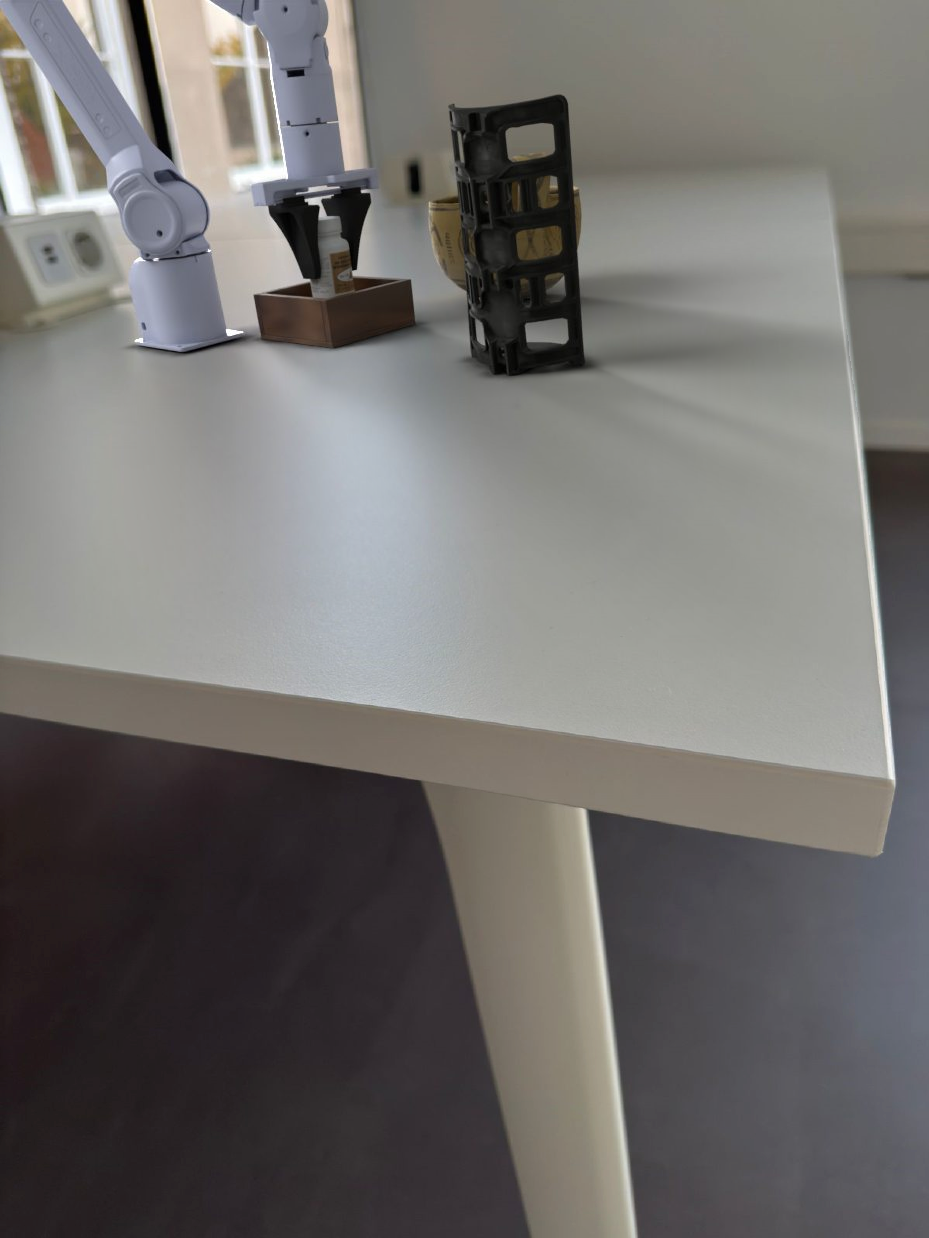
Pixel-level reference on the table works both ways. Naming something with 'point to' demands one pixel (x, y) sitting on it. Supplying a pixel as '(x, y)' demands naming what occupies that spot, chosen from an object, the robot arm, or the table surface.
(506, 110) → the holder
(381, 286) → the box
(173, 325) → the robot arm
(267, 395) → the table surface
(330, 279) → the pill bottle
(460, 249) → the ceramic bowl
